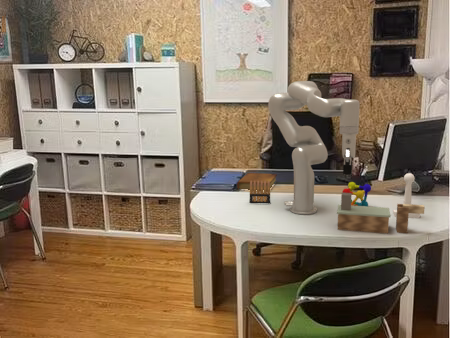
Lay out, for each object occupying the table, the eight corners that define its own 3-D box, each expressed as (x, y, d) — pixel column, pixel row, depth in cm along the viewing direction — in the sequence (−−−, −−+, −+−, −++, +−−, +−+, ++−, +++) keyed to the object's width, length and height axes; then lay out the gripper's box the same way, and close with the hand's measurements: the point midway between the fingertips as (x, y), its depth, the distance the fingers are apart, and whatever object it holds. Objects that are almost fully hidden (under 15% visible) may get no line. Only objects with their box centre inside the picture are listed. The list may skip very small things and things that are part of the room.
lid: (336, 213, 188) (337, 196, 186) (338, 206, 198) (338, 190, 197) (390, 217, 182) (391, 200, 181) (388, 209, 192) (389, 193, 191)
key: (402, 212, 184) (403, 205, 184) (402, 210, 187) (402, 203, 186) (424, 213, 182) (424, 206, 182) (423, 212, 184) (423, 205, 184)
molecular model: (348, 213, 212) (334, 185, 217) (351, 216, 223) (337, 189, 228) (378, 199, 209) (363, 171, 214) (379, 203, 220) (365, 176, 225)
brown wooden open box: (337, 229, 190) (338, 205, 188) (338, 222, 199) (339, 198, 197) (407, 234, 182) (409, 209, 180) (405, 226, 191) (407, 202, 189)
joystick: (394, 217, 204) (397, 174, 200) (391, 212, 211) (393, 170, 207) (420, 218, 202) (423, 174, 198) (416, 213, 210) (419, 171, 206)
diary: (246, 181, 279) (246, 172, 278) (276, 183, 274) (276, 174, 273) (237, 190, 257) (237, 180, 256) (269, 192, 252) (269, 182, 251)
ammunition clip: (270, 203, 230) (270, 180, 228) (270, 204, 229) (270, 181, 226) (249, 202, 232) (249, 180, 229) (249, 203, 230) (249, 180, 227)
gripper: (358, 132, 176) (356, 177, 179) (358, 127, 192) (357, 168, 196) (338, 132, 178) (337, 176, 182) (340, 127, 194) (339, 167, 198)
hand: (347, 172), depth 189 cm, fingers open, 7 cm apart
